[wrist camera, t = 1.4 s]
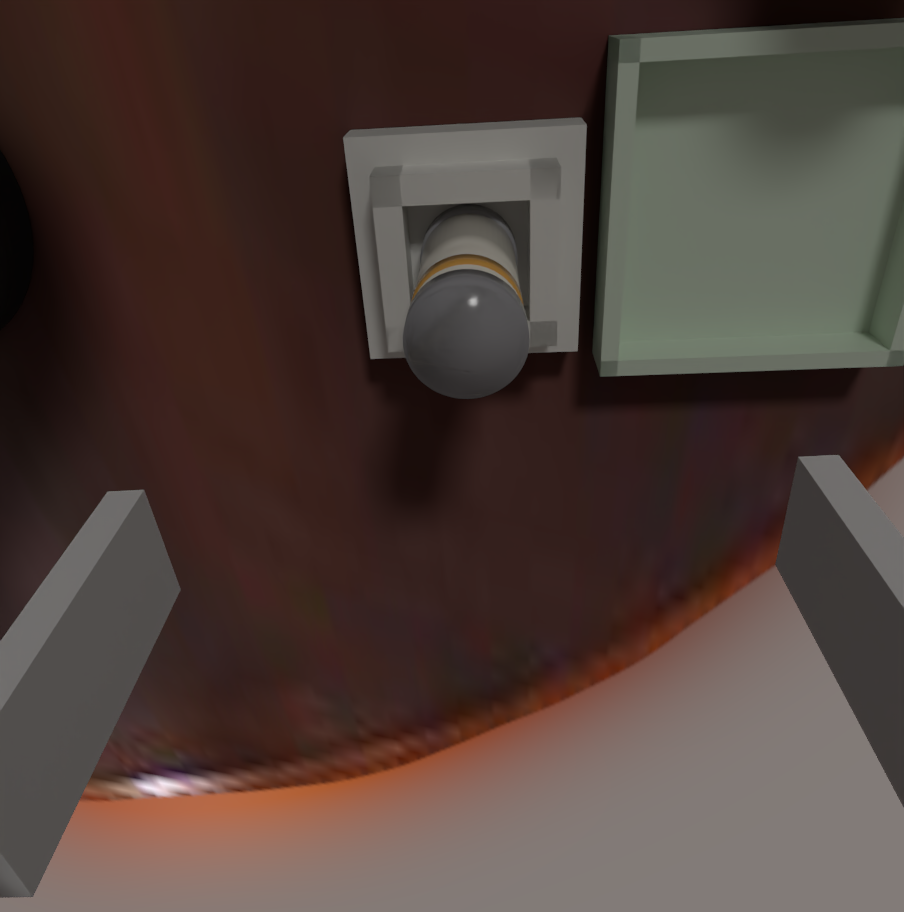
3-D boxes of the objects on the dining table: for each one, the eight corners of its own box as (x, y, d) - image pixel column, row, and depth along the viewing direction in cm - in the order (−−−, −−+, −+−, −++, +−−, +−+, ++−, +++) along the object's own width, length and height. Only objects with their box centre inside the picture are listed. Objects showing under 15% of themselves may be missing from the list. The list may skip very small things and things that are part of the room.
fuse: (425, 299, 34) (408, 401, 26) (418, 206, 32) (396, 283, 23) (516, 295, 34) (529, 396, 25) (515, 201, 32) (529, 278, 23)
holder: (375, 342, 37) (365, 377, 34) (350, 130, 32) (335, 146, 29) (572, 334, 37) (582, 369, 33) (580, 117, 32) (593, 132, 28)
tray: (592, 352, 37) (600, 376, 35) (608, 35, 30) (619, 39, 27) (875, 341, 37) (903, 365, 34) (965, 14, 29) (1008, 16, 27)
